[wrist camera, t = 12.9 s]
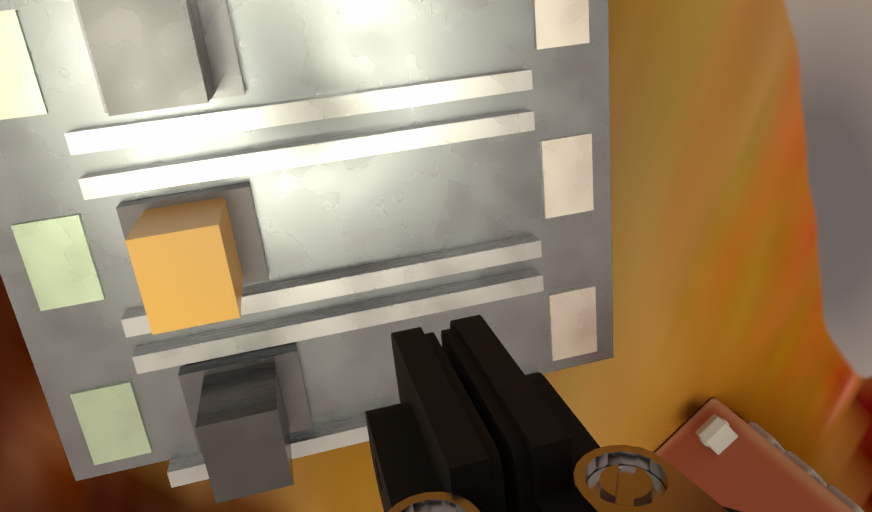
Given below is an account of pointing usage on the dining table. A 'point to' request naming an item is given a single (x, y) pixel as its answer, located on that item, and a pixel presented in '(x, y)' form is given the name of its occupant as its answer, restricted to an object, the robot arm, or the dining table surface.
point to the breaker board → (298, 209)
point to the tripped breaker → (194, 254)
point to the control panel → (747, 466)
